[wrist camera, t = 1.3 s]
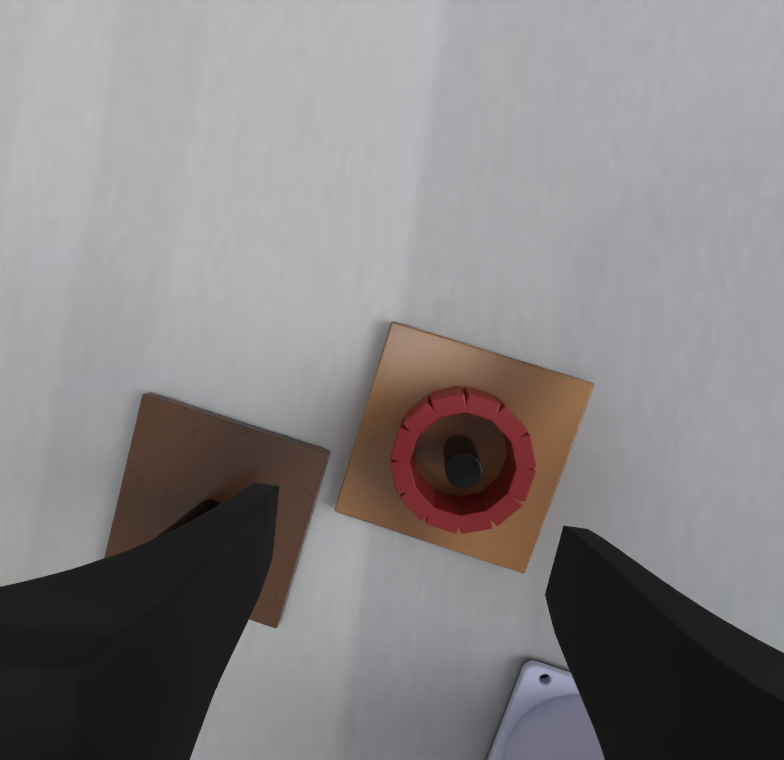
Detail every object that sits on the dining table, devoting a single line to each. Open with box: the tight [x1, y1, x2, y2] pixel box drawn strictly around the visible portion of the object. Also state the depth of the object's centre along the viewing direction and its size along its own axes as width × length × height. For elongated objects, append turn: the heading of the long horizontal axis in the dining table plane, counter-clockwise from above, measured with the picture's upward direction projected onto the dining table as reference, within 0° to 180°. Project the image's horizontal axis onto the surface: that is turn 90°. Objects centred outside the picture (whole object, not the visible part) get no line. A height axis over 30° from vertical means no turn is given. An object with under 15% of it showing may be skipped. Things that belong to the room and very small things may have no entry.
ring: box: [390, 386, 537, 534], centre depth 20 cm, size 6×6×2 cm
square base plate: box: [105, 393, 330, 628], centre depth 20 cm, size 9×9×6 cm
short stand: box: [335, 322, 594, 573], centre depth 20 cm, size 9×9×4 cm
